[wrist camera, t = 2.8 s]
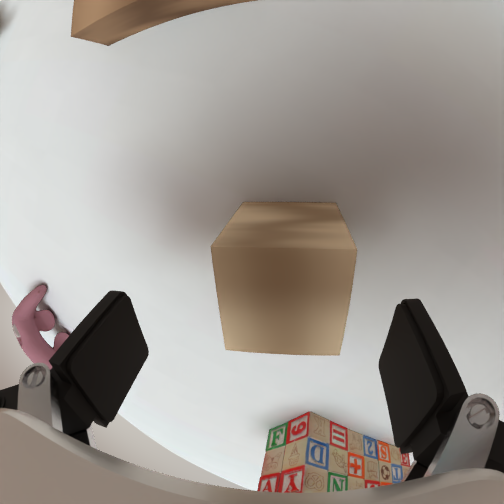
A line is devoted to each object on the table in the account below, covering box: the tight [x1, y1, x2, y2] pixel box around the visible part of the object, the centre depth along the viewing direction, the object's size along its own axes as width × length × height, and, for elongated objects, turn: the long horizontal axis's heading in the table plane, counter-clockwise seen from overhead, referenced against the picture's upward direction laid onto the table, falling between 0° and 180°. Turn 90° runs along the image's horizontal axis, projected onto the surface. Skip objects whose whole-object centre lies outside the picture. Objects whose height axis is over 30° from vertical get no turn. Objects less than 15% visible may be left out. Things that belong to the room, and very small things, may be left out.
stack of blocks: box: [257, 412, 410, 493], centre depth 20 cm, size 21×6×12 cm, turn 53°
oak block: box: [211, 202, 357, 355], centre depth 13 cm, size 5×5×6 cm
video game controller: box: [12, 285, 69, 370], centre depth 21 cm, size 10×5×7 cm, turn 32°
